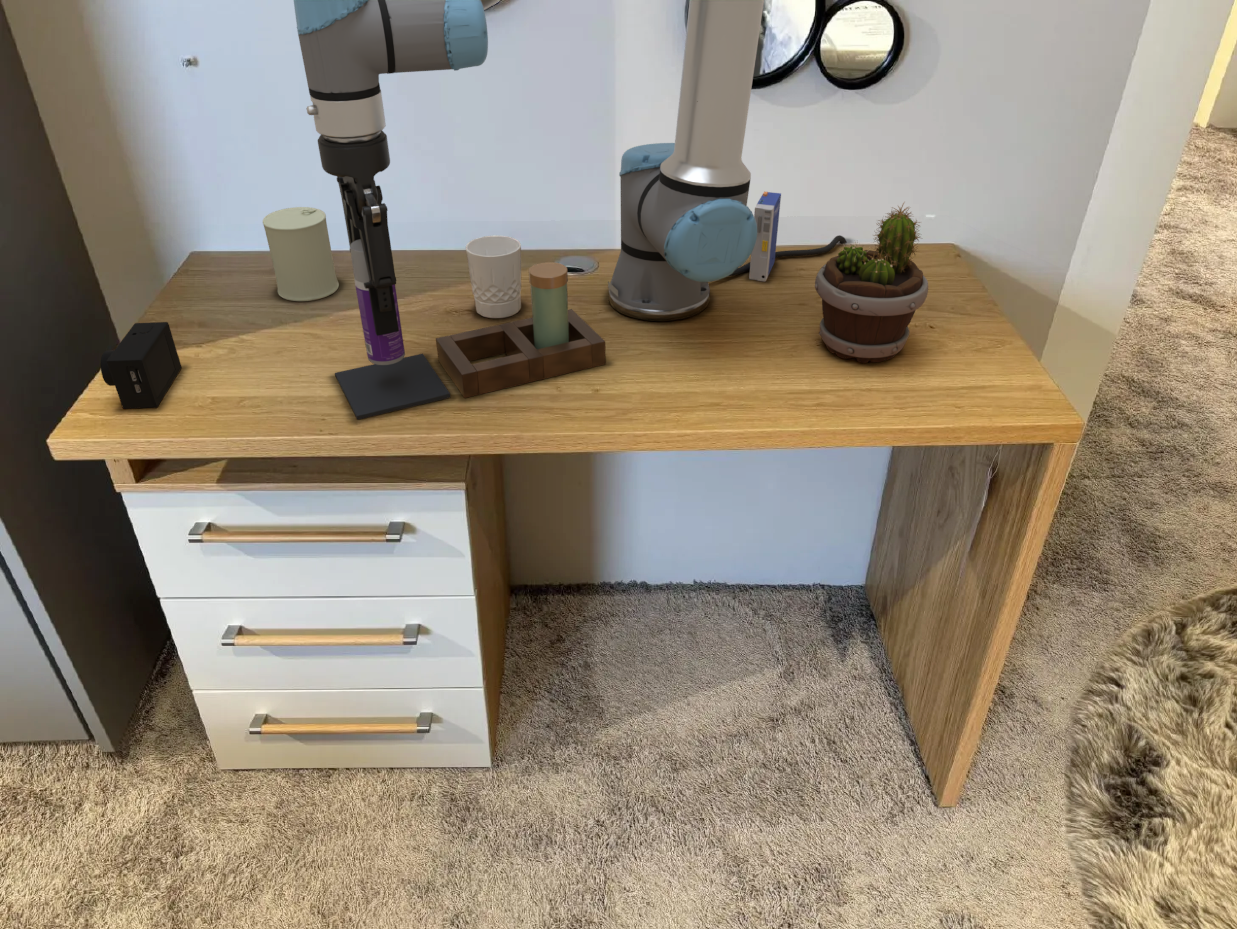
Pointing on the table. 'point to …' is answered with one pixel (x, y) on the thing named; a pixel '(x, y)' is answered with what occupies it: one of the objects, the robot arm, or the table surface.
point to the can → (301, 253)
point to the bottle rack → (516, 355)
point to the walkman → (765, 236)
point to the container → (377, 347)
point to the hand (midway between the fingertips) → (381, 322)
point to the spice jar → (549, 304)
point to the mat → (391, 386)
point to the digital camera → (142, 365)
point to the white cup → (495, 275)
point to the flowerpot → (872, 293)
